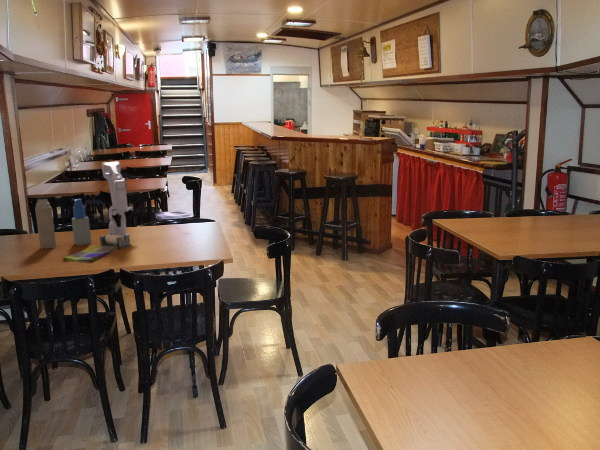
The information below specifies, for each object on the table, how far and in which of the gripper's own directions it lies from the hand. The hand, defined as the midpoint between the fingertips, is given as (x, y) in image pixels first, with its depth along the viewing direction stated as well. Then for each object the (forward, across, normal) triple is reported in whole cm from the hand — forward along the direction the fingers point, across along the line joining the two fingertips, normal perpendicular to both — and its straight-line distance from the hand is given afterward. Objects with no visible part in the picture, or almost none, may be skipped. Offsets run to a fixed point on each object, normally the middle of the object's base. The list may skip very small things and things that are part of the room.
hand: (123, 225), depth 314 cm
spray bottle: (+10, -11, +21) cm, 26 cm away
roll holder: (+9, -10, -2) cm, 14 cm away
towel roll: (+6, -10, -2) cm, 12 cm away
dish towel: (+10, -28, -3) cm, 30 cm away
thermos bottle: (+10, -25, +32) cm, 42 cm away
